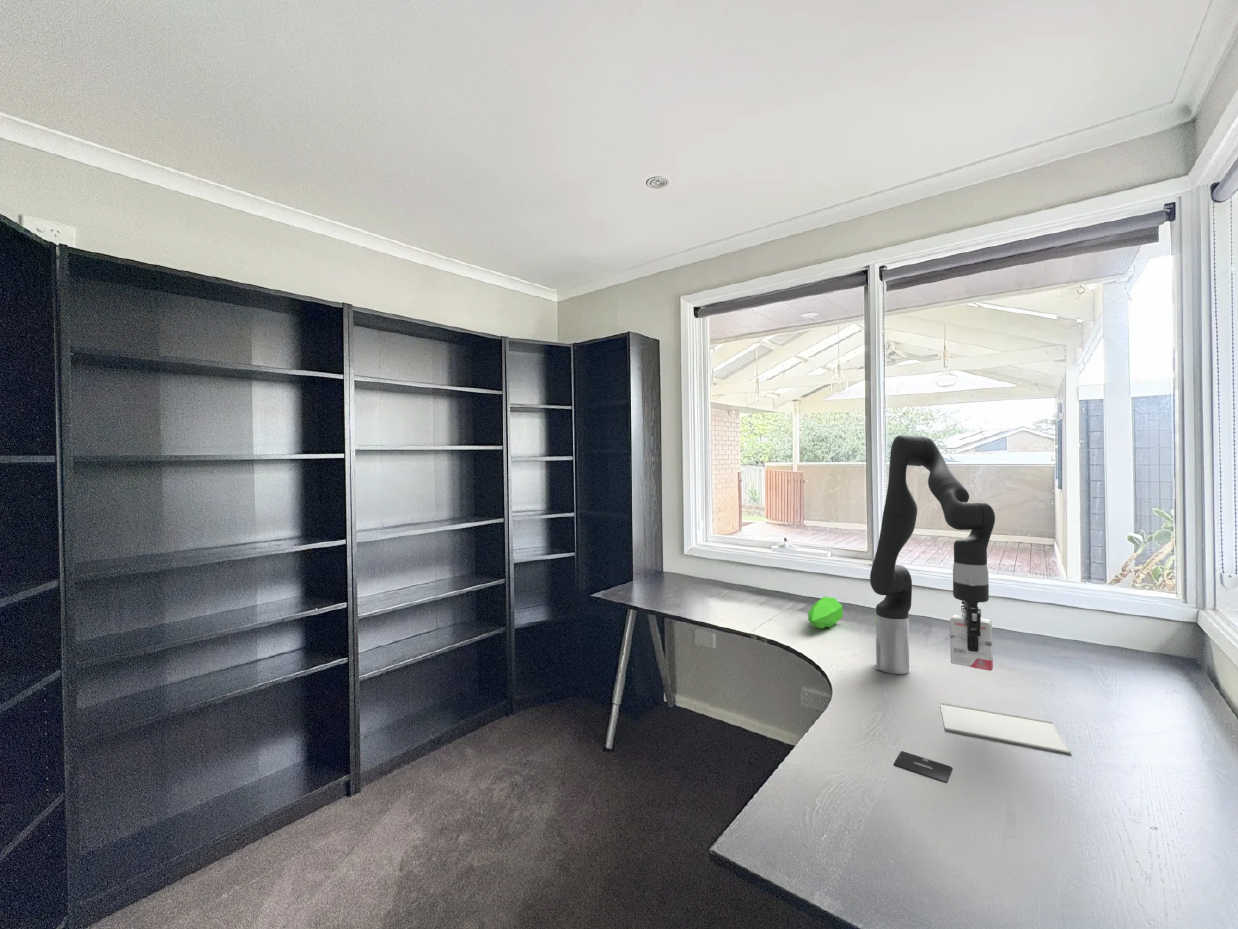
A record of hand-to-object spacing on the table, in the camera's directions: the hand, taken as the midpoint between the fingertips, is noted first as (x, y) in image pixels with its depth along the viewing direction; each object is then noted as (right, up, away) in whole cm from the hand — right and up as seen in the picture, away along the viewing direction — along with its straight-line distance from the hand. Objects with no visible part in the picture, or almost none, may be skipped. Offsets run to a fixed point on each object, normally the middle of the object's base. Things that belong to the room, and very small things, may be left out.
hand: (971, 647), depth 132 cm
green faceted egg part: (-7, -20, +79) cm, 82 cm away
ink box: (0, -5, 0) cm, 5 cm away
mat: (+5, -19, -3) cm, 20 cm away
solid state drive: (-24, -20, -19) cm, 36 cm away
